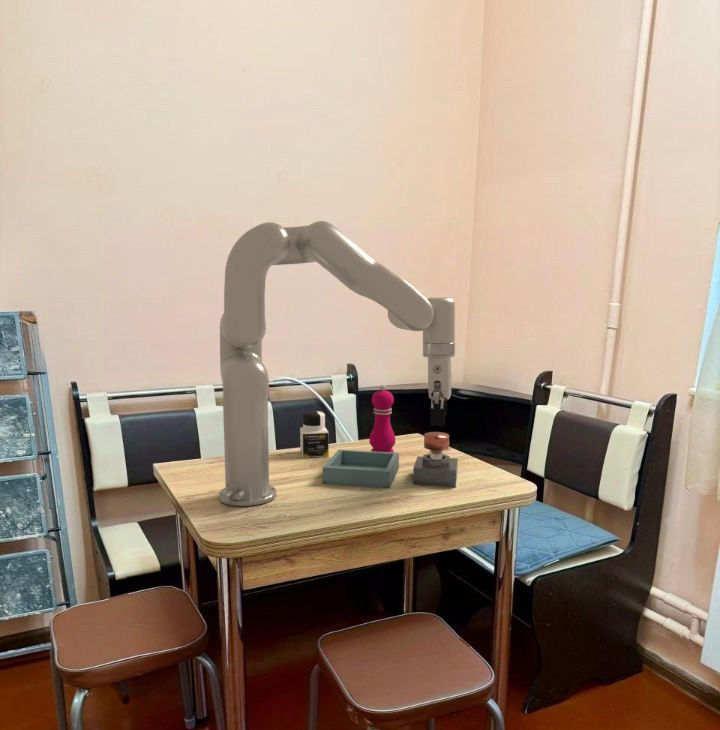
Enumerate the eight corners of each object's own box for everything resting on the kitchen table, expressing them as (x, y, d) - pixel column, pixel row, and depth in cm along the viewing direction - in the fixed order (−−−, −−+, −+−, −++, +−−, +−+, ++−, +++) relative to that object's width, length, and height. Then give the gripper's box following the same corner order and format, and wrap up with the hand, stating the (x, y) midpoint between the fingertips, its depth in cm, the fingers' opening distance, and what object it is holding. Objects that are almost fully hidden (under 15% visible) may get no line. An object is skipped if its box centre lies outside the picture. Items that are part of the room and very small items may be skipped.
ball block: (455, 487, 136) (456, 464, 135) (412, 484, 138) (413, 461, 137) (457, 474, 145) (457, 452, 145) (417, 471, 147) (417, 450, 147)
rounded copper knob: (447, 483, 138) (448, 438, 137) (422, 482, 139) (422, 437, 138) (448, 476, 144) (449, 432, 142) (424, 474, 145) (425, 431, 144)
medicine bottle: (303, 458, 159) (302, 415, 157) (300, 451, 166) (299, 410, 164) (328, 456, 160) (328, 414, 159) (325, 450, 167) (324, 409, 166)
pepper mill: (399, 454, 162) (400, 384, 160) (387, 461, 156) (387, 387, 154) (377, 451, 166) (378, 382, 164) (364, 457, 160) (364, 385, 158)
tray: (389, 488, 135) (389, 471, 134) (322, 483, 138) (322, 467, 137) (398, 467, 150) (399, 452, 150) (338, 464, 153) (338, 449, 153)
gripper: (453, 354, 128) (453, 429, 131) (456, 346, 145) (456, 413, 147) (419, 354, 130) (419, 428, 132) (426, 346, 147) (426, 412, 149)
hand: (438, 420), depth 140 cm, fingers open, 9 cm apart
